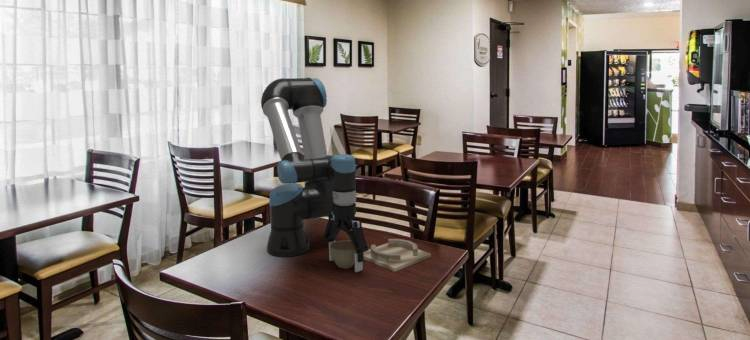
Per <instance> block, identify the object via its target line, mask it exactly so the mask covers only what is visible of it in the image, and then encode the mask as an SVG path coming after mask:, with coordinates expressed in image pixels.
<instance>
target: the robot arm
mask: <svg viewBox="0 0 750 340" xmlns="http://www.w3.org/2000/svg"><path fill="white" fill-rule="evenodd" d="M327 96H328V95H327V90H326V88H325V85H324V83H323V82H322V80H320V79H319V78H316V77H313V78H311V77H304V78H302V77H301V78H298V77H295V78H294V77H293V78H278V79H275V80H273V81H271V82H270V83H268V85H267V86H266V87H265V89H264V91H263V93H262V95H261V99H260V104H261V105H260V106H261V109H262V113H263V115H264V116H266V117H267V120H268V123H269V126H270V130H271V132H272V136H273V139H274V143H275V145H276V148H277V152H278V155H279V157H280V161H279V162H278V163H277V167H276V169H277V171H276V172H277V177H278V180H279V182H280V183H282V184H281V185H278V186H276V187H275V188H273V189H272V190H271V191H270V192H269V203H268V205H269V211H270V212H269V215H270V233H269V236H268V240H267V243H266V252H267V253H268V254H269V255H271V256H274V257H283V258H284V257H286V258H287V257H295V256H299V255H303V254H305V253H307V252H308V251H309V250H310V241H309V238H308V235H307V233H306V232H307V231H306V230H305V226H304V225H305V223H304V221H305V220H313V219H319V218H326V217H327V220H328V221H327V223H326V227H325V230H324V232H323V233H324V234H323V239H326V241H327V245H328V246H327V248H328V258H329V261H330V262H332V261H334V259H333V257H332V254H331V250H330V245H331V244H332V243H334V242H337V241H336V240H337V236H338V235H339V233H340V232H341V231H343V232H345V234H346V235H348V237H349V239H350V241H352V243H353V246H354V248H355V250H356V252H355V263H354V272H355V273H359V272H361V271H363V267H364V266H363V264H364V259H363V252H366V251H368V250H369V246H368V243H367V239H366V238H365V234H364V230H363V226H362V225H363V224H362V220H355V215H356V214H357V203H356V202H357V194H356V193H357V190H356V186H357V185H356V180H357V179H356V168H357V165H356V160H355V159H356V158H355V156H354V155H352V154H346V153H342V154H335V155H333V154H332V155H331V154H328V151H327V145H326V140H325V134H324V128H323V121H322V117H321V114H322V113H324V108H326V106H327V103H328V102H327V101H328V99H327ZM289 110H292V114H293V115H292V116H294V117H295V118H297V121H298V127H299V132H300V138H301V144H302V147H301V145H300V142H299V140H298V137H297V134H296V130H295V128H294V125H293V122H292V120H291V119H292V118H291V116H290V114H289ZM300 183H304V187H303V185H302V184H300Z"/></svg>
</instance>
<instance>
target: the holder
mask: <svg viewBox="0 0 750 340" xmlns="http://www.w3.org/2000/svg"><path fill="white" fill-rule="evenodd" d="M429 258H432V253H431V252H427V251H425V250H421V249H419V248H418V244H416V243H415V242H413V241H412V240H407V239H402V238H388V241H387V243H384V244H381V245H378V246H376V244H371V245H370V248H368V251H366V252H363V261H364V260H365V261H366V262H370V263H372V264H375V265H377V266H379V267H382V268H385V269H387V270H389V271H392V272H393V273H396V272H398V271H400V270H403V269H405V268H408V267H410V266H412V265H415V264H417V263H420V262H422V261H425V260H427V259H429Z"/></svg>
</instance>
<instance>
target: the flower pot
mask: <svg viewBox="0 0 750 340" xmlns="http://www.w3.org/2000/svg"><path fill="white" fill-rule="evenodd" d="M330 250H331V254H332V257H333V259H334V260H333V261H334V262H335V265H336V266H337V267H338V268H340V269H351V268H353V266H355V252H356V250H355V248H354V246H353V243H352V241H351V240H348V239H347V240H337V241H336V242H334V243H332V244H331V245H330Z"/></svg>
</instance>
